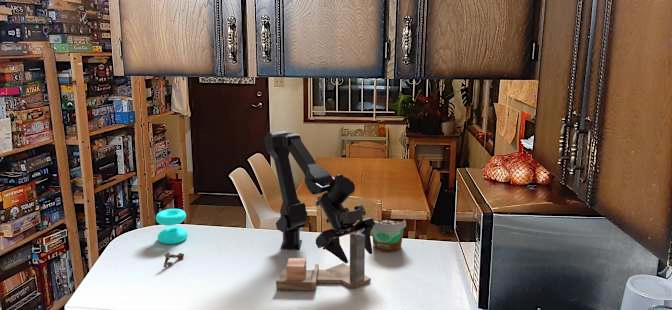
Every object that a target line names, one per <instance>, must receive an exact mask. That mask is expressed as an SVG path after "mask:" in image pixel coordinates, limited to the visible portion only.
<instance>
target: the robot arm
mask: <svg viewBox="0 0 672 310" xmlns="http://www.w3.org/2000/svg"><path fill="white" fill-rule="evenodd" d="M263 143H264V146H265V149H266V151H267V153H268V155H270V156H271V158H272V159H273V162H274V165H275V170H276V176H277V180H278V184H279V189H280V190H279V191H280V194H281V198H282V199H281V200H282V203H281V206H280V210H279V213H280V217H279V218H278V219H277V221H276V223H275V226H276V230H277V231H280V232H281V233H282V241H281V242H282V243H281V245H280V249H282V250H289V249H290V250H300V249H301V247H302V246H301V245H302V243H303V239H301V238H300V237H301V236H300V231H301V230H300V229H302V228H305V227H306V226H307V225H306V224H307V220H308V212H307V211H308V210H307V209H306V208H307V207H306V204H305V202H302V201H300V200H299V198H298V194H297V190H296V185H295V180H294V176H293V170H292V166H291V162H290V158H289V157H290V154H291V156H292V157H293V159H294V161H295V162H296V163H297V165H298V166H299V169H301V171H302V173H303V175H304V184H305V185H306V188H307V190H308V192H309V193H311V195H315V196H316V195H320V194H322V195H321V196H318V197H317V200H316V204H315V206H316V207H319V206H321V208H322V210H323V212H324V214H325V216H326V217H327V218H326V219H325V222H326V224H330V226H331V227H332V228H331V229H330V228H329V229H327V230H323V231H321V233H320V234H319V235H317V236H316V238H315V245H316V247H317V249H321V248H322V250H326V251H328V253H331V254H332V255H334V256H335V257H337V259H339V260H340V261H341V262H342V263H344V264H346V265H347V264H348V263H349V260H348V257H347V255H346V253H345V251H344V250H343V248H342V245H341V241H340V238H341V237H344V236H347V235H351V234H354V233H357V232H359V233H361V234H363V235H365V251H366V252H367V253H368V254H369V255H372V254H373V246H372V241H371V233H372V229H373V226H374V225H375V222H374V220H375V219H373V217H372V216H371V217H370V216H368V217H365V218H364V216H367V215H366V214H367V212H366V209H365V207H364V206H363V205H362V204H359V205H356V206H354V209H353V210H349V208H348V207H344V205H343V203H345V202H346V201H347V200H348V199H349V198H350V196H352V195H353V193H354V192H355V190H356V187H355V186H356V184H355V183H354V182H353V181H352V179H349V178H348V177H346V176H344V174H342V173H340V174H336V175H335V176H334V177H333V176H332V174H331V173H330V172H328V170H327V169H326V168H324V167H322V166H321V165H319V164H318V163H317V161H315V158H314V157H313V156H312V154H311V153H310V151H309V150H308V149H307V147H306V146H305V144H304V142H303V141H302V138H301V136H300V134H299V133H295V132H287V131H286V130H278V131H271V132H267V133H266V135H265V136H264V138H263Z"/></svg>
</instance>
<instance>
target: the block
mask: <svg viewBox="0 0 672 310" xmlns="http://www.w3.org/2000/svg"><path fill="white" fill-rule="evenodd" d="M286 263H287V264H286V266H285V267H286V270H287V280H305V278H306V270H307V258H300V257H299V258H294V257H293V258H291V257H290V258H289V257H288V260H287V262H286Z"/></svg>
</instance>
